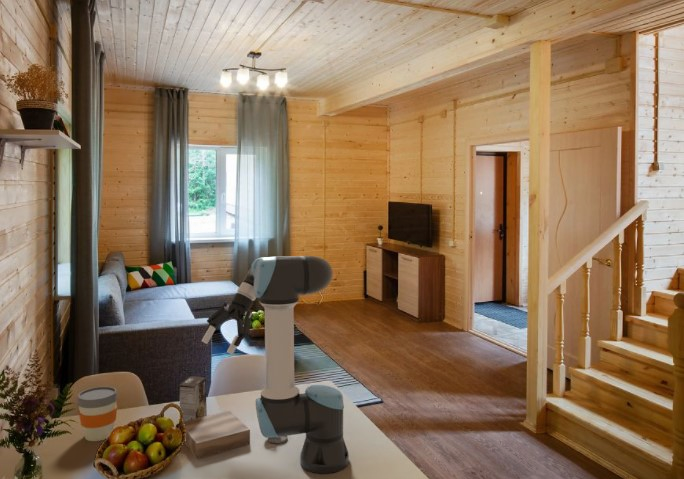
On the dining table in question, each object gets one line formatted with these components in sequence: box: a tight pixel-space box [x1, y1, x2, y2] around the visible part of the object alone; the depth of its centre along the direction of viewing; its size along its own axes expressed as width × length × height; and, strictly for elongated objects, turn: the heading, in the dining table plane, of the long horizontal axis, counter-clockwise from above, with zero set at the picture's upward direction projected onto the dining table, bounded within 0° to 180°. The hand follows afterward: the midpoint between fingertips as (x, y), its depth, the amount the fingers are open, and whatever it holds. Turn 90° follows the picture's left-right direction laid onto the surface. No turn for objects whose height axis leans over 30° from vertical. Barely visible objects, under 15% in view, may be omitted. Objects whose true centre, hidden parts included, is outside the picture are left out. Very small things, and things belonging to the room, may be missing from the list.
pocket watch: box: [267, 436, 288, 444], centre depth 182 cm, size 8×8×10 cm
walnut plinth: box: [183, 410, 251, 460], centre depth 181 cm, size 18×18×5 cm
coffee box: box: [178, 375, 208, 421], centre depth 193 cm, size 9×6×16 cm
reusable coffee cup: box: [76, 386, 118, 442], centre depth 184 cm, size 13×13×15 cm
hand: (216, 348), depth 195 cm, fingers open, 13 cm apart
